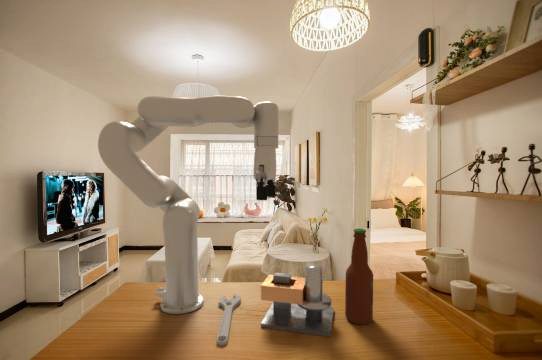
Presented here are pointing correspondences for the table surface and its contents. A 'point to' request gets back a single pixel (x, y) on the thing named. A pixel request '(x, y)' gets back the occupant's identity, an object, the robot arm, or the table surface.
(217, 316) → the table surface
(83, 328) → the table surface
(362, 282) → the bottle
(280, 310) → the grey rectangular block
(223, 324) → the adjustable wrench
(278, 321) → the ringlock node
